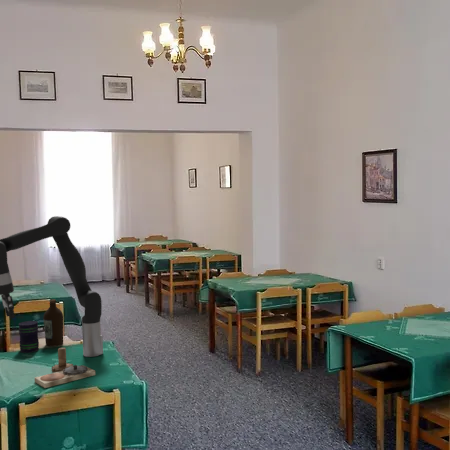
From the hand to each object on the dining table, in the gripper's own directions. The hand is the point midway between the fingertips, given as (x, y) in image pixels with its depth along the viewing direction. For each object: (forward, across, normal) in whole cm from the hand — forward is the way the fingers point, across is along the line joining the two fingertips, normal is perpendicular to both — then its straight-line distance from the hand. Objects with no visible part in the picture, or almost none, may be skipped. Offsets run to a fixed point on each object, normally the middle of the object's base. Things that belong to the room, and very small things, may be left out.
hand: (10, 317), depth 258 cm
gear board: (+30, -21, -14) cm, 40 cm away
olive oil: (+28, +42, -26) cm, 57 cm away
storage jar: (+26, +38, -11) cm, 47 cm away
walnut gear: (+30, -7, -17) cm, 35 cm away
